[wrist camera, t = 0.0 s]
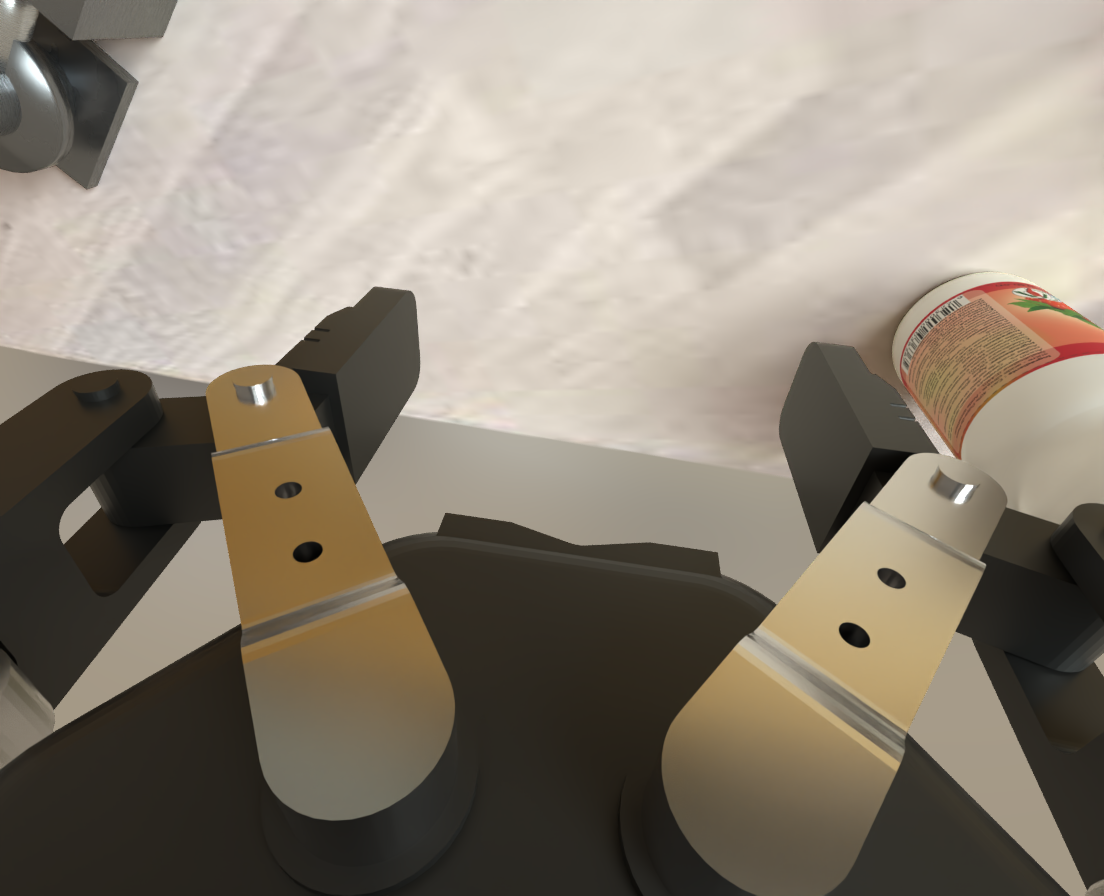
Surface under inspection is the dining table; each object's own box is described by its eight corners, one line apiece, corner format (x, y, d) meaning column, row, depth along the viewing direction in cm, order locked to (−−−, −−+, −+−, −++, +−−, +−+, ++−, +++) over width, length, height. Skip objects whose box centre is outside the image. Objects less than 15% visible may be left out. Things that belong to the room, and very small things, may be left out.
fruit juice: (878, 298, 39) (1187, 665, 17) (1043, 244, 36) (1694, 610, 14) (895, 407, 44) (1155, 807, 22) (1042, 368, 41) (1526, 791, 18)
